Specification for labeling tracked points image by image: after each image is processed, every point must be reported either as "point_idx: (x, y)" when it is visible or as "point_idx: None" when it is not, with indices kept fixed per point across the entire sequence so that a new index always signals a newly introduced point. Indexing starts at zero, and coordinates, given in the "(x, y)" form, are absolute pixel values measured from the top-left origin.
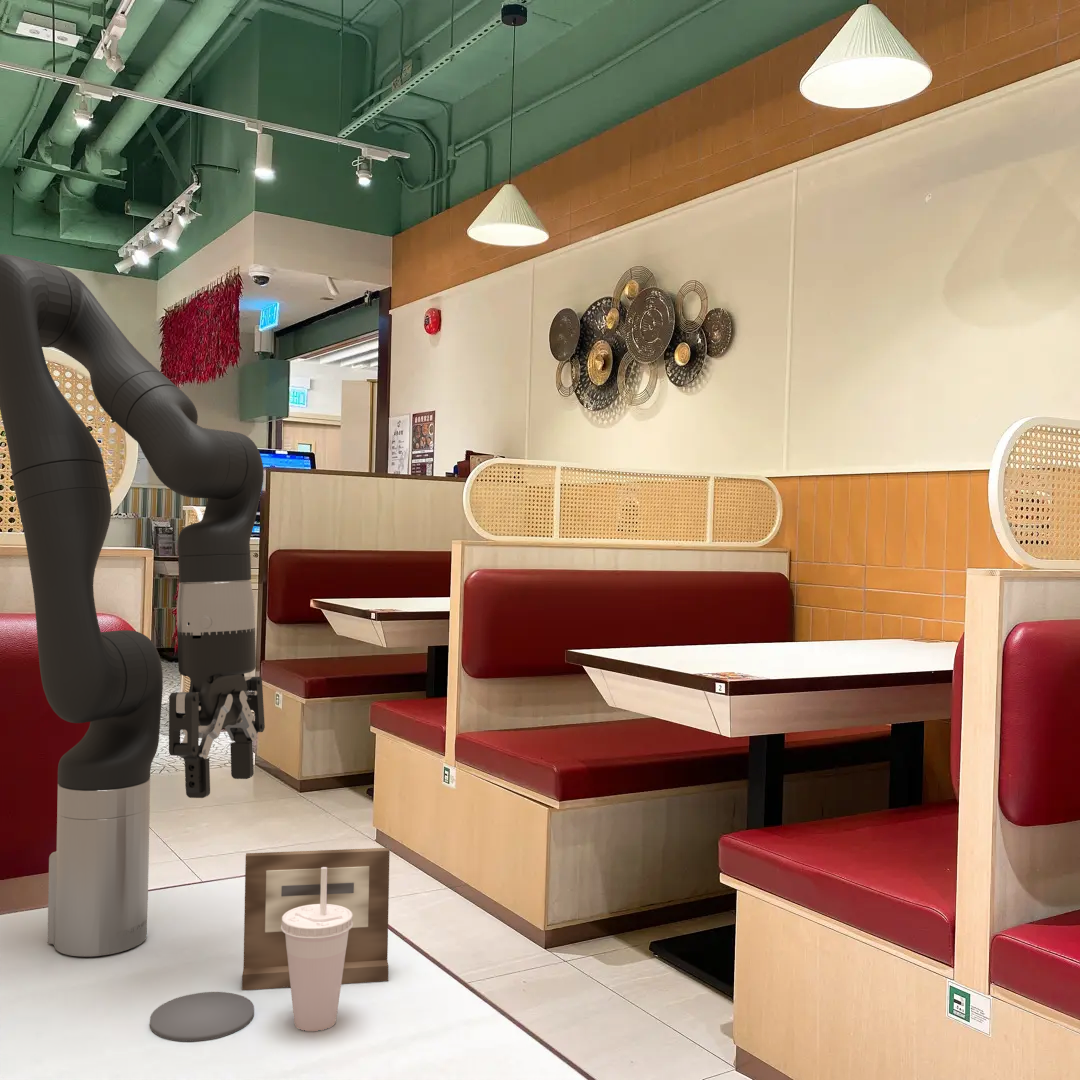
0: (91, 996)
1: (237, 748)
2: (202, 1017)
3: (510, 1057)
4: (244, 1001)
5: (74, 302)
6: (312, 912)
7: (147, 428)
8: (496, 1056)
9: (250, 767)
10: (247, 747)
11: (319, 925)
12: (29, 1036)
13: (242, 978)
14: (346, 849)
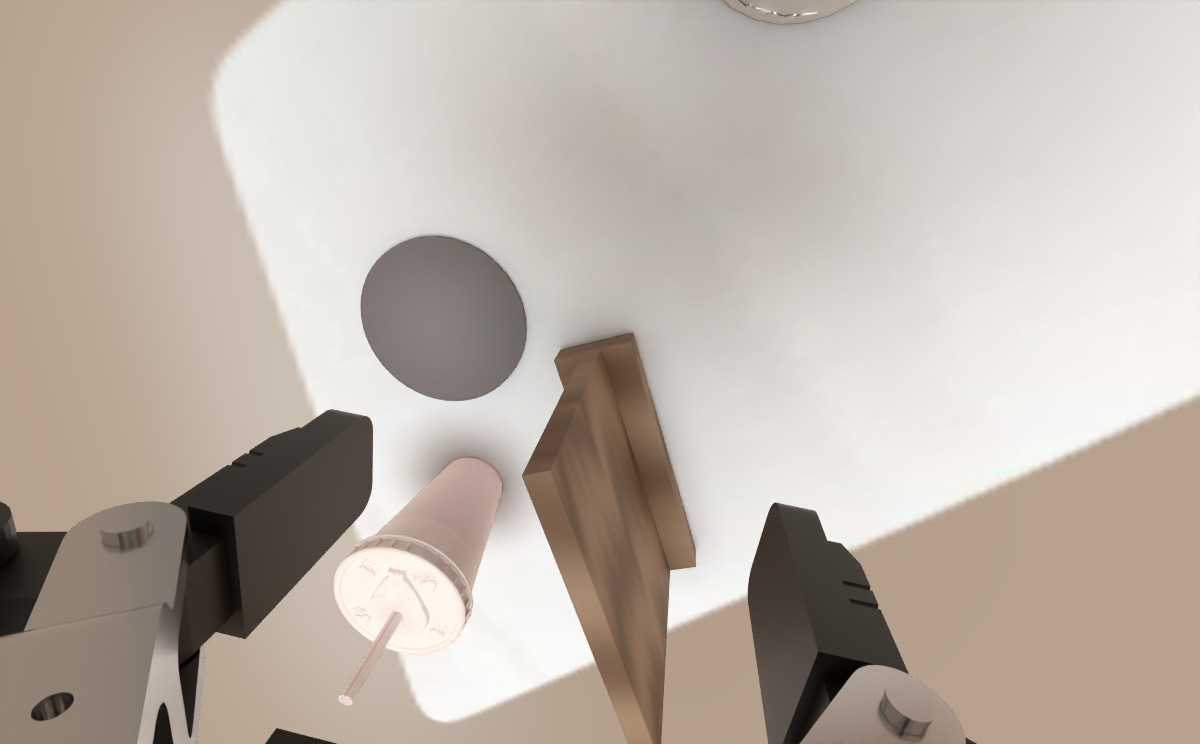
0: (482, 63)
1: (792, 664)
2: (425, 329)
3: (440, 686)
4: (494, 377)
5: None
6: (400, 598)
7: None
8: (438, 674)
9: (754, 633)
10: (769, 731)
11: (356, 611)
12: (304, 36)
13: (555, 358)
14: (630, 687)
